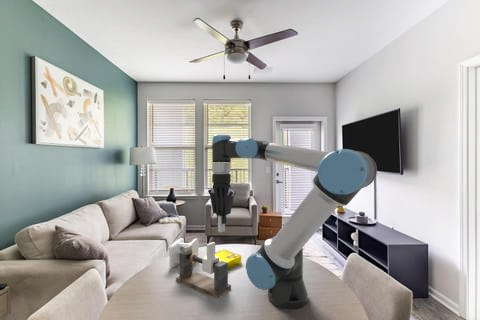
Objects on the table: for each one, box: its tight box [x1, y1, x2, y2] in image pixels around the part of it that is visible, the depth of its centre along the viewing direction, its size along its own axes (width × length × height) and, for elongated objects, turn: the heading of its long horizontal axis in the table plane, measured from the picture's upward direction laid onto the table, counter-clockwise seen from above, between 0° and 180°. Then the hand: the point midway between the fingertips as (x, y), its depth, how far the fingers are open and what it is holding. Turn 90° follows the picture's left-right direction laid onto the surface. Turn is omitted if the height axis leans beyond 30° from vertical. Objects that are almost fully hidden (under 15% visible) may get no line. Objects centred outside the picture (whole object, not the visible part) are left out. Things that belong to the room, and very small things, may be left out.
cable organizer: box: [168, 237, 199, 268], centre depth 126 cm, size 15×11×12 cm
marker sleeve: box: [201, 241, 220, 275], centre depth 101 cm, size 5×5×11 cm
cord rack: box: [175, 244, 232, 299], centre depth 104 cm, size 24×9×14 cm, turn 54°
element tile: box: [203, 249, 242, 271], centre depth 126 cm, size 15×15×5 cm
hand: (221, 231), depth 98 cm, fingers closed
